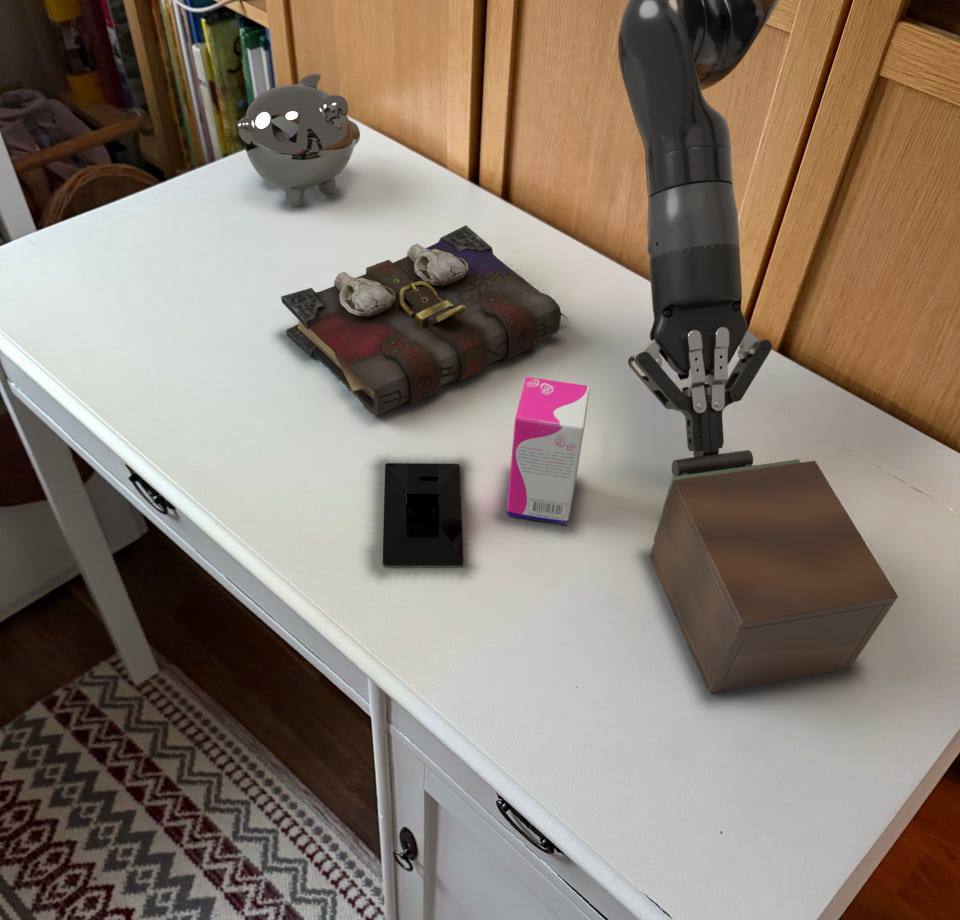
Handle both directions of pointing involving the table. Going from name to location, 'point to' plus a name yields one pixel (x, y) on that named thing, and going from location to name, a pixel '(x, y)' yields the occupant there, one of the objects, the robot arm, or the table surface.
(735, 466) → the drawer
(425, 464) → the black plastic holder
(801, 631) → the cabinet
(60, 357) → the table surface
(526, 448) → the supplement box
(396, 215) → the table surface
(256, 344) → the table surface
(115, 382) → the table surface
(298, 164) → the piggy bank
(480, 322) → the book
